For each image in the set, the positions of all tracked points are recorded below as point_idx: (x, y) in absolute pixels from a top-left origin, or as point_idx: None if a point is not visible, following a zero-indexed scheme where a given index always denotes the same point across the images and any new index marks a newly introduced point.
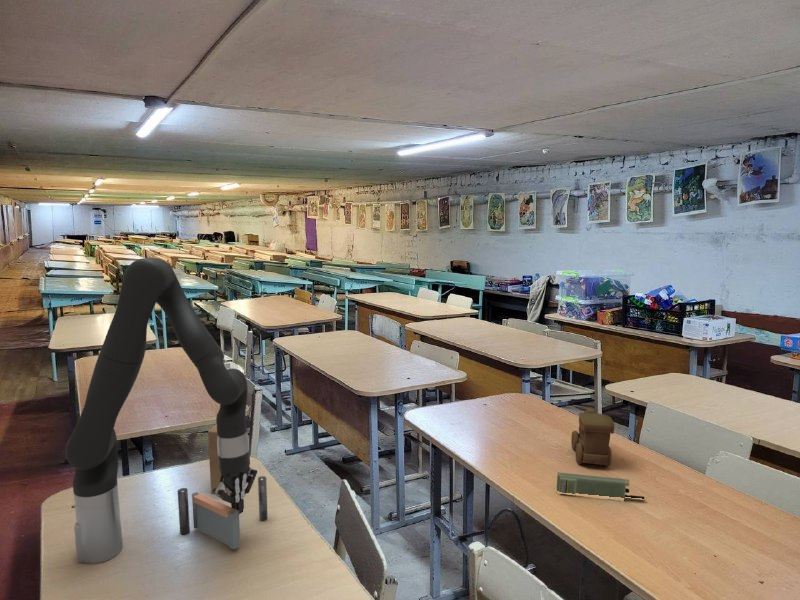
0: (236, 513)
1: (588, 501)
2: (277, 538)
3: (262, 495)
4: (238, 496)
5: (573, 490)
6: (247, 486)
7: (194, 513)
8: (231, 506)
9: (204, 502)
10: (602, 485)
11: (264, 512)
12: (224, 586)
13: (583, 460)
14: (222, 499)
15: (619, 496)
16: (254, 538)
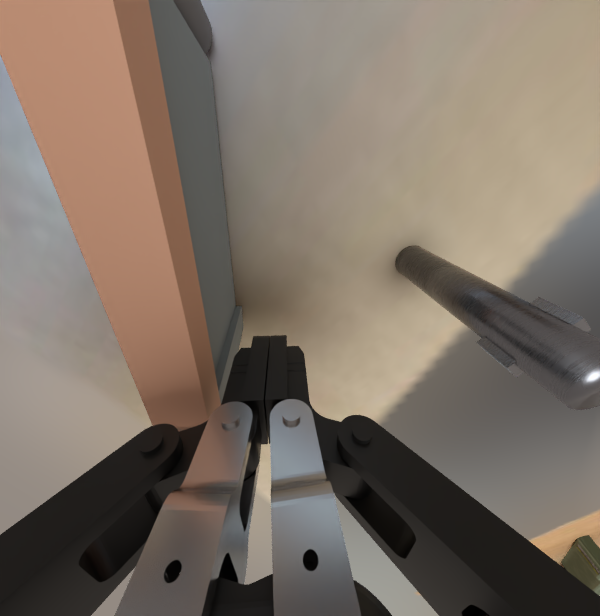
0: None
1: (560, 551)
2: (339, 360)
3: (467, 325)
4: (245, 498)
5: (581, 557)
6: (369, 528)
7: None
8: (228, 378)
9: (47, 144)
10: (585, 581)
11: (417, 286)
12: (127, 390)
13: None
14: (102, 466)
15: (568, 569)
16: (307, 314)
